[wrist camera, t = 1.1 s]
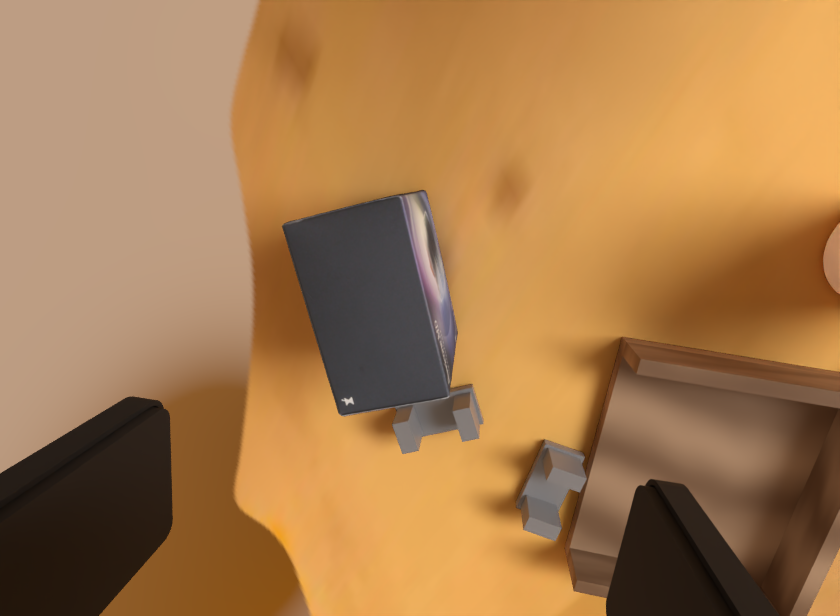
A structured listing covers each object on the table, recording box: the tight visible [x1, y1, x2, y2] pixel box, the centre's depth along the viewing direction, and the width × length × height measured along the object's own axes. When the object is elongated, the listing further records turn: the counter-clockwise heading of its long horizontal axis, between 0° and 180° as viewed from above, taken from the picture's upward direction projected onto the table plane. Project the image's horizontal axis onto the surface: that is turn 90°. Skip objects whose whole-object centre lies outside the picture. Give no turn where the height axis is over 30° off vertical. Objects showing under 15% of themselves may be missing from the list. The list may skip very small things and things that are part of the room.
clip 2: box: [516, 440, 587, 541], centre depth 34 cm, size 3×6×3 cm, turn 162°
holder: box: [565, 337, 840, 616], centre depth 32 cm, size 18×15×4 cm
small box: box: [282, 190, 458, 416], centre depth 28 cm, size 11×6×10 cm, turn 14°
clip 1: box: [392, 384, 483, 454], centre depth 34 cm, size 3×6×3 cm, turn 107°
